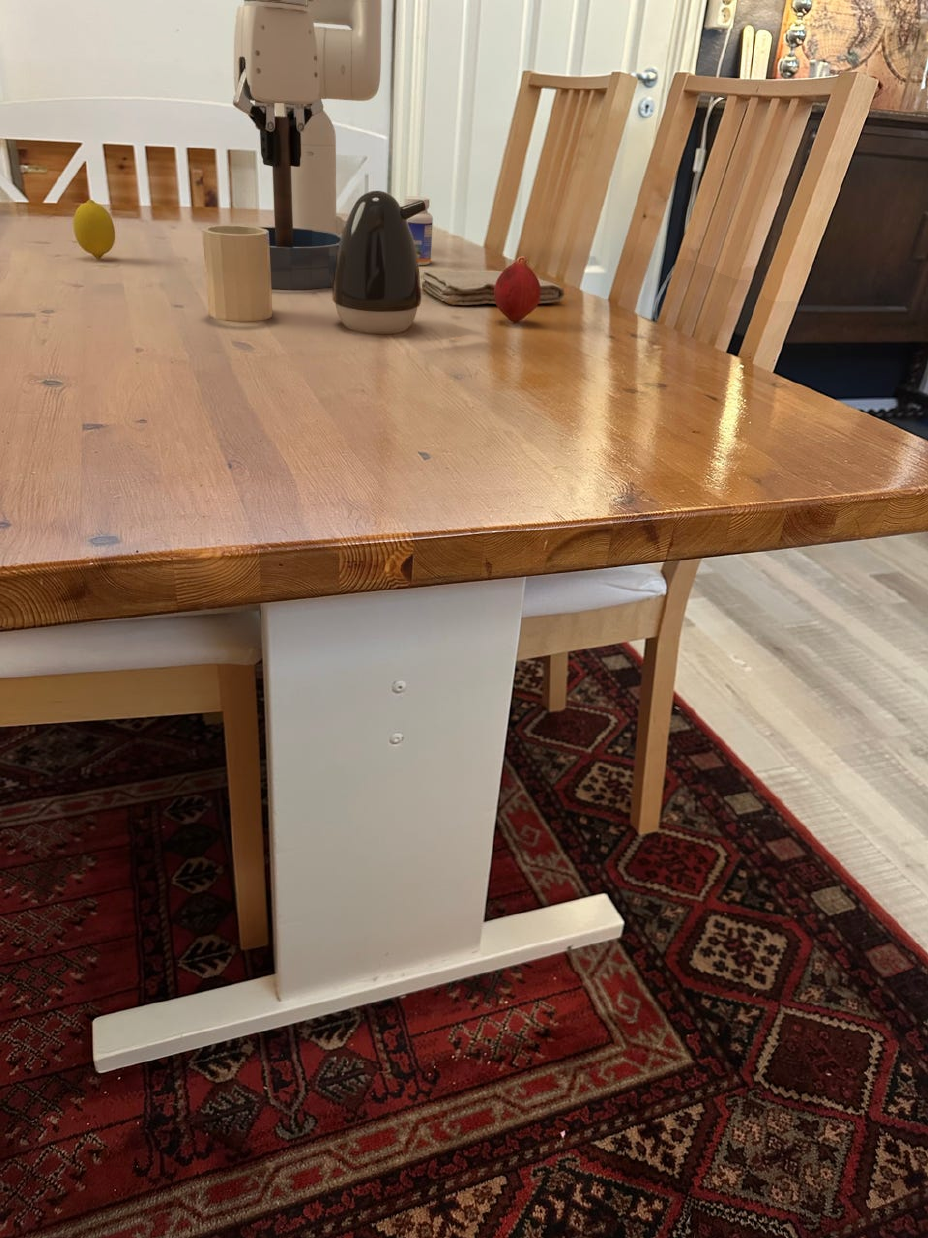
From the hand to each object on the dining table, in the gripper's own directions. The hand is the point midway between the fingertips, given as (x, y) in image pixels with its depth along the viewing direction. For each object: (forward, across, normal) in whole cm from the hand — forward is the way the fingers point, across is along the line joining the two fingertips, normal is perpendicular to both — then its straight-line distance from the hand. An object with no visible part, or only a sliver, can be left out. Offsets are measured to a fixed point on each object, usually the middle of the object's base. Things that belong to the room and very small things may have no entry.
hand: (281, 164), depth 117 cm
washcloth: (+15, -22, +18) cm, 32 cm away
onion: (+15, -14, +31) cm, 37 cm away
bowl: (+15, -1, -2) cm, 15 cm away
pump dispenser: (+15, +5, +27) cm, 32 cm away
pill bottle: (+15, -29, -7) cm, 34 cm away
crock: (+15, +16, +15) cm, 27 cm away
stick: (+13, 0, 0) cm, 13 cm away
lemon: (+15, +15, -27) cm, 34 cm away
